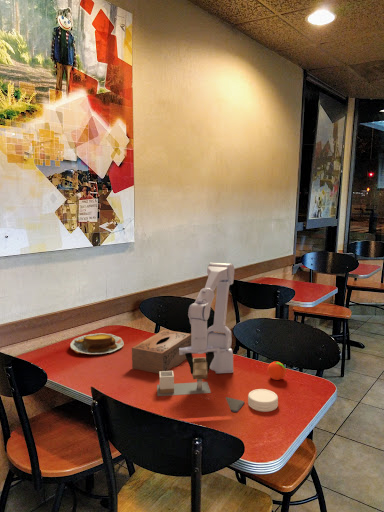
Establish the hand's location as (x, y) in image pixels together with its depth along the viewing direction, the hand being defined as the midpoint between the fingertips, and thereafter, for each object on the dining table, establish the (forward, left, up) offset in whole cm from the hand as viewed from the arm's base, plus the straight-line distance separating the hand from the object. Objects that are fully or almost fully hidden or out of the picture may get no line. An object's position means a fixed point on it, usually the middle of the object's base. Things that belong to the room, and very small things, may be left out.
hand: (199, 372), depth 147 cm
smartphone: (-6, +10, -8) cm, 14 cm away
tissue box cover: (+12, -28, -7) cm, 31 cm away
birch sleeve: (0, 0, -1) cm, 1 cm away
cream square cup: (+12, 0, -6) cm, 13 cm away
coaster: (-20, +13, -7) cm, 25 cm away
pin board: (+6, 0, -7) cm, 9 cm away
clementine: (-31, -5, -7) cm, 32 cm away
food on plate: (+43, -51, -8) cm, 67 cm away
